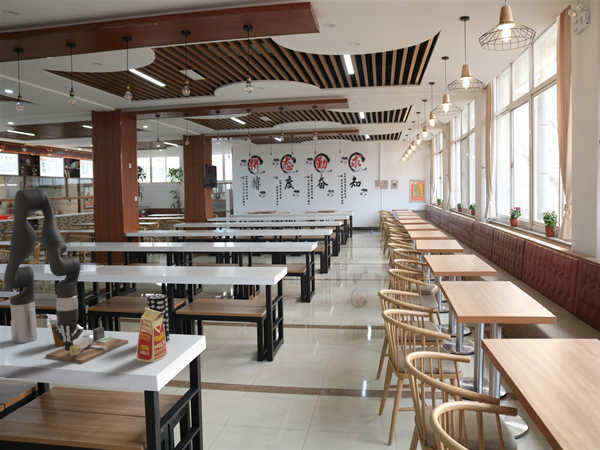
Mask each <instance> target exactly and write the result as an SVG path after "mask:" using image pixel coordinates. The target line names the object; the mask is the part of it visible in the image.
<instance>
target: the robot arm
mask: <svg viewBox="0 0 600 450" xmlns="http://www.w3.org/2000/svg"><path fill="white" fill-rule="evenodd" d="M13 206H14V207H13V210H14V211H13V213H14V216H13V224H12V232H11V235H10V246H9V251H8V252H9V254H8V259H7V263H6V267H5V271H4V276H3V279H4V280H3V282H4V283H3V284H4V286H5V288H7V289H8V290H16V289H22V290H21V291H20V292H18V293H17V294H15V295H13V296H11V298H10V299H9V302H10V314H11V320H10V330H11V341H12V342H13V343H15V344H26V343H30V342H33V341H36V340H37V339H38V328H37V317H36V316H37V314H36V305H35V303H36V302H35V273H34V270H33V268H32V267H31V266H21V264H22V263H24V262H25V260H26V259H28V258H29V257H30V256H31V255H32V254H33V253H34V251H35V249H36V245H37V241H38V240H37V238H38V235H37V232H36V230H35V228H34V227H33V226H32V225H31V224H30V223H29V221H28V214H29V213H31V212H32V213H33V212H39V211H41V213H42V215H43V224H42V227H41V231H40V234H41V235H40V236H41V241H42V244H43V245H44V248H45V250H46V252H47V256H48V264H49V269H50V270H49V271H50V272H51V274H52V275H53V276H55V277H64V276H65V278H64V279H63V280H60V281H59V282H57V283H56V287H55V289H56V304H55V305H56V307H55V308H56V316H57V320H58V322H57V325H56V326H55V327H53V328H51V331H52V330H53V331H54V333H55V334H56V335H57V337H58V338H59V339H60V340H63V341H64V345H65V346H64V347H65V349H66V351H70V346H71V345H73V342H74V341H76V340H77V339H79V338H80V336H81V334H82V333H83V332H84V330H85V327H84V326H82V327H81V326H80V322H79V300H78V293H77V292H78V291H77V290H78V289H77V285H78V282H79V281H78V280H79V276H80V272H81V265H82V264H81V262H80V259H79V258H78V257H77V256H74V255H73V256H72V255H71V256H65V257H61V255H64V254H65V252H66V251H68V246H67V243H66V242H65V239H64V237H63V236H62V233H61V231H60V229H59V225H58V223H57V219H56V216H55V212H54V209H53V206H52V203H51V200H50V197H49V194H48V193H47V191H46V190H45V189H44V188H42V187H34V188H22V189H19V190H17V191H16V193H15V195H14V205H13ZM60 334H61V335H60Z"/></svg>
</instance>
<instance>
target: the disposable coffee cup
mask: <svg viewBox="0 0 600 450" xmlns="http://www.w3.org/2000/svg"><path fill="white" fill-rule="evenodd" d="M48 322H49V324H50V327H51V331H52V332H51V333H52V336H53V341H54V346H56V347H65V345H64V341H63V340H60V339H59V338H58V337H57V335H56V334H55V333H54V331H53V330H52V328H53V327H55V326H56V325H57V322H58V320H57V315H54V316H51V317H50V318H49V321H48ZM60 335H61V334H60Z"/></svg>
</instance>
